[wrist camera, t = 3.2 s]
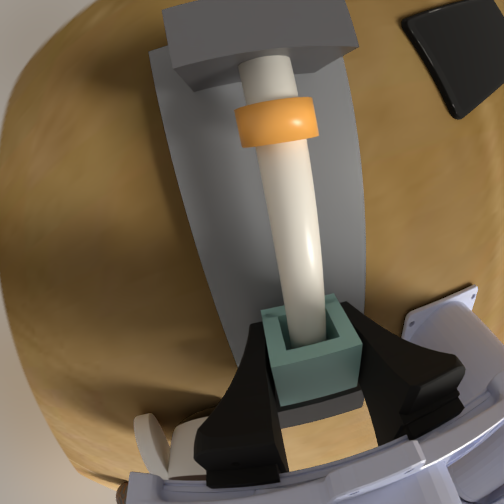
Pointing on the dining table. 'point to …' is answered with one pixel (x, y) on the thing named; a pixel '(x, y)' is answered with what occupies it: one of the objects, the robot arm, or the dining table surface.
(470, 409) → the robot arm
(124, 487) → the vase
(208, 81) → the rod and ring fixture
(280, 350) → the marker sleeve
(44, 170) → the dining table surface
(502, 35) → the smartphone
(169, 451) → the spread jar
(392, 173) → the dining table surface
